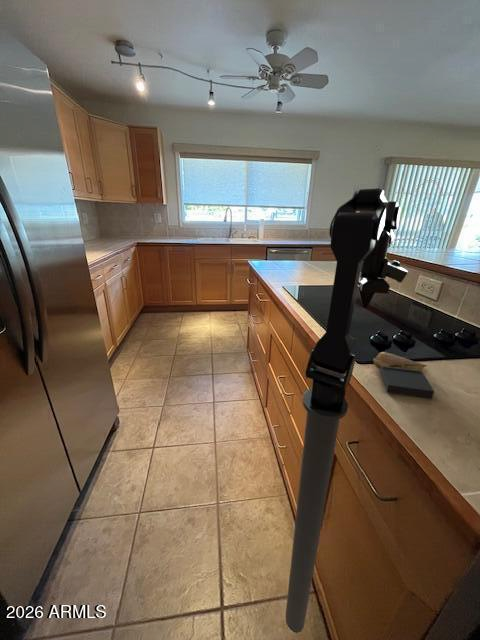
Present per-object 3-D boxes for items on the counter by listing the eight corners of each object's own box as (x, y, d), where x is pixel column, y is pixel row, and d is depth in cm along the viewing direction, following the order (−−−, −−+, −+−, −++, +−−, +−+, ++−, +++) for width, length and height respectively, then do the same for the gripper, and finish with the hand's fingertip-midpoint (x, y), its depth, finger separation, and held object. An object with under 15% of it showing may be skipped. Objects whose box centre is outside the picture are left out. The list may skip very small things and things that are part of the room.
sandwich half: (425, 370, 67) (427, 364, 66) (417, 383, 62) (419, 377, 62) (381, 355, 74) (382, 349, 74) (370, 365, 70) (371, 360, 69)
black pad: (386, 392, 60) (388, 384, 59) (379, 372, 67) (381, 365, 66) (431, 398, 57) (434, 391, 57) (419, 377, 64) (421, 370, 64)
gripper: (420, 260, 59) (404, 322, 66) (399, 248, 76) (388, 299, 82) (367, 259, 62) (357, 318, 69) (357, 247, 79) (350, 296, 85)
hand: (364, 307), depth 76 cm, fingers closed
